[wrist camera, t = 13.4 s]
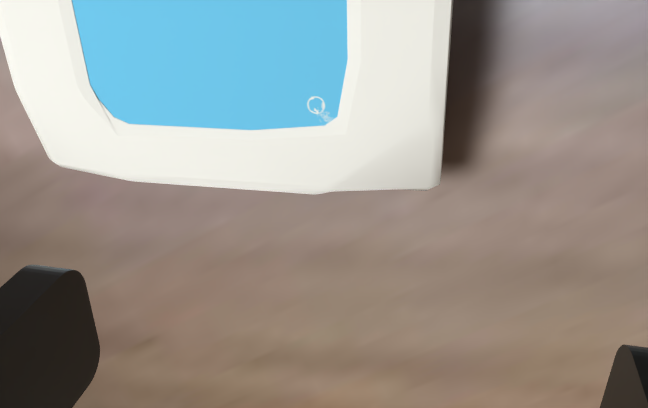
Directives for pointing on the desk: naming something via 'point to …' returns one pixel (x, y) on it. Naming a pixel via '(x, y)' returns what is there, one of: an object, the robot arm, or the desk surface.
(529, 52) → the desk surface
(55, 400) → the robot arm
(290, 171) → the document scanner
